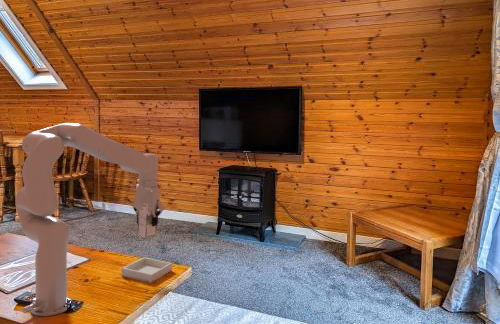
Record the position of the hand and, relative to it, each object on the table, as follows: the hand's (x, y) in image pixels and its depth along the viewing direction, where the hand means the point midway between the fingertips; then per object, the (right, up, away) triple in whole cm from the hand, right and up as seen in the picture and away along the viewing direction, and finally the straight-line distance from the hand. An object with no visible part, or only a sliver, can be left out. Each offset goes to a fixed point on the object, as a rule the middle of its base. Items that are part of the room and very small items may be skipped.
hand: (147, 224), depth 165 cm
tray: (-1, -22, +2) cm, 22 cm away
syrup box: (0, -5, +1) cm, 5 cm away
